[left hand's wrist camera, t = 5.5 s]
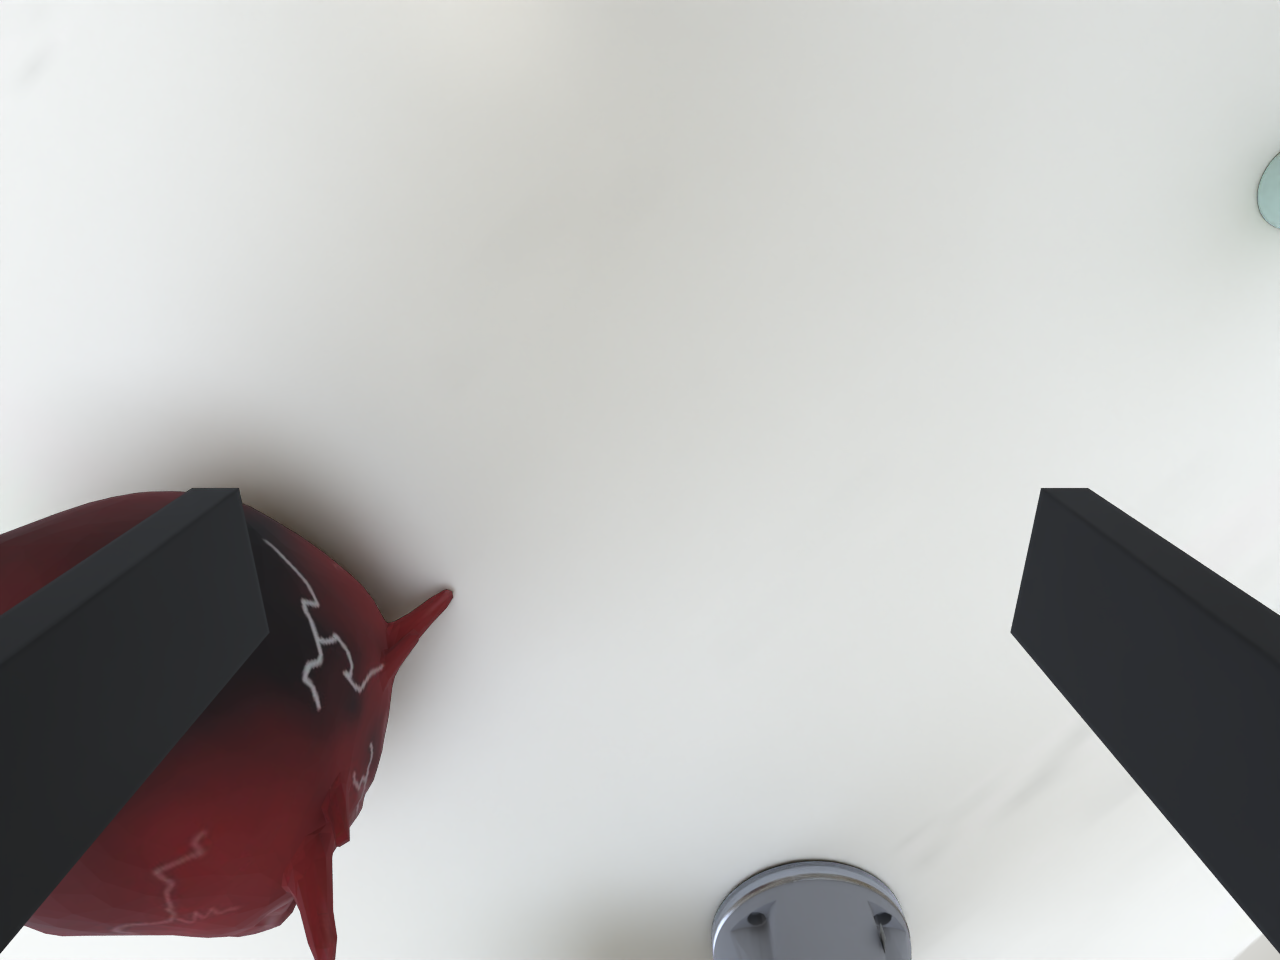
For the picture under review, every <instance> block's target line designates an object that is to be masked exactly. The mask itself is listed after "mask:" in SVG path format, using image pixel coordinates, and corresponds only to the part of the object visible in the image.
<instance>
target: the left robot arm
mask: <svg viewBox="0 0 1280 960" xmlns="http://www.w3.org/2000/svg"><path fill="white" fill-rule="evenodd" d="M1010 633H1011V634H1012V635H1013V636H1014V637H1015V638H1016V640H1017V641H1018V642H1019V643H1020V644H1021V646H1022V647H1023V648H1024V649H1025V650H1026V652H1027V653H1028V654H1029V655H1030V656H1031V658H1032V659H1033V660H1034V661H1035V662H1036V664H1037V665H1038V666H1039V667H1040V668H1041V669H1042V671H1043V672H1044V673H1045V674H1046V675H1047V677H1048V678H1049V679H1050V680H1051V681H1052V683H1053V684H1054V685H1055V686H1056V687H1057V689H1058V690H1059V691H1060V692H1061V693H1062V695H1063V696H1064V697H1065V698H1066V699H1067V700H1068V702H1069V703H1070V704H1071V705H1072V706H1073V708H1074V709H1075V710H1076V711H1077V712H1078V714H1079V715H1080V716H1081V717H1082V718H1083V720H1084V721H1085V722H1086V723H1087V724H1088V726H1089V727H1090V728H1091V729H1092V730H1093V732H1094V733H1095V734H1096V735H1097V736H1098V737H1099V739H1100V740H1101V741H1102V742H1103V743H1104V745H1105V746H1106V747H1107V748H1108V749H1109V751H1110V752H1111V753H1112V754H1113V755H1114V757H1115V758H1116V759H1117V760H1118V761H1119V763H1120V764H1121V765H1122V766H1123V767H1124V768H1125V770H1126V771H1127V772H1128V773H1129V774H1130V776H1131V777H1132V778H1133V779H1134V780H1135V782H1136V783H1137V784H1138V785H1139V786H1140V788H1141V789H1142V790H1143V791H1144V792H1145V794H1146V795H1147V796H1148V797H1149V798H1150V799H1151V801H1152V802H1153V803H1154V804H1155V805H1156V807H1157V808H1158V809H1159V810H1160V811H1161V813H1162V814H1163V815H1164V816H1165V817H1166V819H1167V820H1168V821H1169V822H1170V823H1171V825H1172V826H1173V827H1174V828H1175V829H1176V830H1177V832H1178V833H1179V834H1180V835H1181V836H1182V838H1183V839H1184V840H1185V841H1186V842H1187V844H1188V845H1189V846H1190V847H1191V848H1192V850H1193V851H1194V852H1195V853H1196V854H1197V856H1198V857H1199V858H1200V859H1201V860H1202V862H1203V863H1204V864H1205V865H1206V866H1207V867H1208V869H1209V870H1210V871H1211V872H1212V873H1213V875H1214V876H1215V877H1216V878H1217V879H1218V881H1219V882H1220V883H1221V884H1222V885H1223V887H1224V888H1225V889H1226V890H1227V891H1228V893H1229V894H1230V895H1231V896H1232V897H1233V898H1234V900H1235V901H1236V902H1237V903H1238V904H1239V906H1240V907H1241V908H1242V909H1243V910H1244V912H1245V913H1246V914H1247V915H1248V916H1249V918H1250V919H1251V920H1252V921H1253V922H1254V924H1255V925H1256V926H1257V927H1258V928H1259V929H1260V931H1261V932H1262V933H1263V934H1264V935H1265V937H1266V938H1267V939H1268V940H1269V941H1270V943H1271V944H1272V945H1273V946H1274V947H1275V949H1276V950H1277V951H1278V952H1279V953H1280V615H1278V614H1277V613H1275V612H1274V611H1272V610H1271V609H1269V608H1268V607H1266V606H1265V605H1263V604H1262V603H1260V602H1259V601H1257V600H1256V599H1254V598H1253V597H1251V596H1250V595H1248V594H1247V593H1245V592H1244V591H1242V590H1241V589H1239V588H1238V587H1236V586H1235V585H1233V584H1232V583H1230V582H1229V581H1227V580H1226V579H1224V578H1223V577H1221V576H1220V575H1218V574H1217V573H1215V572H1213V571H1212V570H1210V569H1209V568H1207V567H1206V566H1204V565H1203V564H1201V563H1200V562H1198V561H1197V560H1195V559H1194V558H1192V557H1191V556H1189V555H1188V554H1186V553H1185V552H1183V551H1182V550H1180V549H1179V548H1177V547H1176V546H1174V545H1173V544H1171V543H1170V542H1168V541H1167V540H1165V539H1164V538H1162V537H1161V536H1159V535H1158V534H1156V533H1155V532H1153V531H1152V530H1150V529H1149V528H1147V527H1146V526H1144V525H1143V524H1141V523H1140V522H1138V521H1137V520H1135V519H1134V518H1132V517H1131V516H1129V515H1128V514H1126V513H1125V512H1123V511H1122V510H1120V509H1119V508H1117V507H1116V506H1114V505H1113V504H1111V503H1110V502H1108V501H1107V500H1105V499H1104V498H1102V497H1101V496H1099V495H1098V494H1096V493H1095V492H1093V491H1092V490H1090V489H1089V488H1041V491H1040V496H1039V501H1038V505H1037V510H1036V515H1035V520H1034V524H1033V529H1032V534H1031V538H1030V543H1029V548H1028V552H1027V557H1026V562H1025V567H1024V571H1023V576H1022V581H1021V585H1020V590H1019V595H1018V600H1017V604H1016V609H1015V614H1014V618H1013V623H1012V628H1011V632H1010ZM268 634H269V628H268V623H267V618H266V614H265V609H264V604H263V600H262V595H261V590H260V585H259V581H258V576H257V571H256V567H255V562H254V557H253V552H252V548H251V543H250V538H249V534H248V529H247V524H246V520H245V515H244V510H243V505H242V501H241V496H240V491H239V488H191V489H190V490H188V491H187V492H185V493H184V494H182V495H181V496H179V497H178V498H176V499H175V500H173V501H172V502H170V503H169V504H167V505H166V506H164V507H163V508H161V509H160V510H158V511H157V512H155V513H154V514H152V515H151V516H149V517H148V518H146V519H145V520H143V521H142V522H140V523H139V524H137V525H136V526H134V527H133V528H131V529H130V530H128V531H127V532H125V533H124V534H122V535H121V536H119V537H118V538H116V539H115V540H113V541H112V542H110V543H109V544H107V545H106V546H104V547H103V548H101V549H100V550H98V551H97V552H95V553H94V554H92V555H91V556H89V557H88V558H86V559H85V560H83V561H82V562H80V563H79V564H77V565H76V566H74V567H73V568H71V569H70V570H68V571H67V572H65V573H63V574H62V575H60V576H59V577H57V578H56V579H54V580H53V581H51V582H50V583H48V584H47V585H45V586H44V587H42V588H41V589H39V590H38V591H36V592H35V593H33V594H32V595H30V596H29V597H27V598H26V599H24V600H23V601H21V602H20V603H18V604H17V605H15V606H14V607H12V608H11V609H9V610H8V611H6V612H5V613H3V614H2V615H0V953H1V952H2V951H3V950H4V949H5V947H6V946H7V945H8V944H9V943H10V941H11V940H12V939H13V938H14V937H15V935H16V934H17V933H18V932H19V931H20V929H21V928H22V927H23V926H24V925H25V924H26V922H27V921H28V920H29V919H30V918H31V916H32V915H33V914H34V913H35V912H36V910H37V909H38V908H39V907H40V906H41V904H42V903H43V902H44V901H45V900H46V898H47V897H48V896H49V895H50V894H51V893H52V891H53V890H54V889H55V888H56V887H57V885H58V884H59V883H60V882H61V881H62V879H63V878H64V877H65V876H66V875H67V873H68V872H69V871H70V870H71V869H72V867H73V866H74V865H75V864H76V863H77V862H78V860H79V859H80V858H81V857H82V856H83V854H84V853H85V852H86V851H87V850H88V848H89V847H90V846H91V845H92V844H93V842H94V841H95V840H96V839H97V838H98V836H99V835H100V834H101V833H102V832H103V830H104V829H105V828H106V827H107V826H108V825H109V823H110V822H111V821H112V820H113V819H114V817H115V816H116V815H117V814H118V813H119V811H120V810H121V809H122V808H123V807H124V805H125V804H126V803H127V802H128V801H129V799H130V798H131V797H132V796H133V795H134V794H135V792H136V791H137V790H138V789H139V788H140V786H141V785H142V784H143V783H144V782H145V780H146V779H147V778H148V777H149V776H150V774H151V773H152V772H153V771H154V770H155V768H156V767H157V766H158V765H159V764H160V763H161V761H162V760H163V759H164V758H165V757H166V755H167V754H168V753H169V752H170V751H171V749H172V748H173V747H174V746H175V745H176V743H177V742H178V741H179V740H180V739H181V737H182V736H183V735H184V734H185V733H186V731H187V730H188V729H189V728H190V727H191V726H192V724H193V723H194V722H195V721H196V720H197V718H198V717H199V716H200V715H201V714H202V712H203V711H204V710H205V709H206V708H207V706H208V705H209V704H210V703H211V702H212V700H213V699H214V698H215V697H216V696H217V695H218V693H219V692H220V691H221V690H222V689H223V687H224V686H225V685H226V684H227V683H228V681H229V680H230V679H231V678H232V677H233V675H234V674H235V673H236V672H237V671H238V669H239V668H240V667H241V666H242V665H243V664H244V662H245V661H246V660H247V659H248V658H249V656H250V655H251V654H252V653H253V652H254V650H255V649H256V648H257V647H258V646H259V644H260V643H261V642H262V641H263V640H264V638H265V637H266V636H267V635H268ZM711 939H712V950H713V959H714V960H911V942H910V934H909V929H908V926H907V923H906V920H905V918H904V915H903V912H902V909H901V907H900V904H899V902H898V900H897V898H896V897H895V895H894V894H893V893H892V891H891V890H890V889H889V888H888V887H887V886H886V885H885V884H884V883H883V882H881V881H880V880H879V879H877V878H876V877H874V876H872V875H871V874H869V873H867V872H865V871H863V870H860V869H858V868H855V867H852V866H848V865H845V864H839V863H834V862H824V861H806V862H797V863H791V864H785V865H782V866H778V867H774V868H772V869H769V870H766V871H764V872H761V873H759V874H757V875H755V876H753V877H751V878H750V879H748V880H746V881H745V882H743V883H742V884H741V885H739V886H738V887H737V888H735V889H734V890H733V891H732V892H731V893H730V894H729V895H728V896H727V897H726V899H725V900H724V901H723V903H722V904H721V905H720V907H719V909H718V911H717V913H716V915H715V918H714V921H713V924H712V931H711Z"/></svg>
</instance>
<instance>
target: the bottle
mask: <svg viewBox="0 0 1280 960" xmlns="http://www.w3.org/2000/svg"><path fill="white" fill-rule="evenodd" d="M1258 206H1259V210H1260V212H1261V214H1262V216H1263V217H1264V219H1265V220H1266V221H1267V222H1268V223H1270V224H1271V225H1272V226H1274V227H1277V228H1279V229H1280V153H1279V154H1278V155H1277V156H1276V157H1275V158H1274V159H1273V160H1272V161H1271V163H1270V164H1269V166H1268V167H1267V169H1266V170H1265V172H1264V174H1263V176H1262V178H1261V181H1260V184H1259V189H1258Z"/></svg>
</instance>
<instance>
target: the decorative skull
mask: <svg viewBox="0 0 1280 960" xmlns="http://www.w3.org/2000/svg"><path fill="white" fill-rule="evenodd" d="M184 493H185V492H176V491H160V492H141V493H133V494H127V495H122V496H116V497H111V498H107V499H103V500H99V501H94V502H90V503H87V504H84V505H81V506H78V507H75V508H72V509H69V510H66V511H63V512H60V513H57V514H54V515H51V516H49V517H46V518H43V519H41V520H38V521H35V522H33V523H30V524H27V525H25V526H22V527H19V528H17V529H14V530H11V531H9V532H6V533H3V534H1V535H0V615H2V614H3V613H5V612H6V611H8V610H9V609H11V608H12V607H14V606H15V605H17V604H18V603H20V602H21V601H23V600H24V599H26V598H27V597H29V596H30V595H32V594H33V593H35V592H36V591H38V590H39V589H41V588H42V587H44V586H45V585H47V584H48V583H50V582H51V581H53V580H54V579H56V578H57V577H59V576H60V575H62V574H63V573H65V572H67V571H68V570H70V569H71V568H73V567H74V566H76V565H77V564H79V563H80V562H82V561H83V560H85V559H86V558H88V557H89V556H91V555H92V554H94V553H95V552H97V551H98V550H100V549H101V548H103V547H104V546H106V545H107V544H109V543H110V542H112V541H113V540H115V539H116V538H118V537H119V536H121V535H122V534H124V533H125V532H127V531H128V530H130V529H131V528H133V527H134V526H136V525H137V524H139V523H140V522H142V521H143V520H145V519H146V518H148V517H149V516H151V515H152V514H154V513H155V512H157V511H158V510H160V509H161V508H163V507H164V506H166V505H167V504H169V503H170V502H172V501H173V500H175V499H176V498H178V497H179V496H181V495H182V494H184ZM242 505H243V510H244V515H245V520H246V524H247V529H248V534H249V538H250V543H251V548H252V552H253V557H254V562H255V567H256V571H257V576H258V581H259V585H260V590H261V595H262V600H263V604H264V609H265V614H266V618H267V623H268V628H269V634H268V635H267V636H266V637H265V638H264V640H263V641H262V642H261V643H260V644H259V646H258V647H257V648H256V649H255V650H254V652H253V653H252V654H251V655H250V656H249V658H248V659H247V660H246V661H245V662H244V664H243V665H242V666H241V667H240V668H239V669H238V671H237V672H236V673H235V674H234V675H233V677H232V678H231V679H230V680H229V681H228V683H227V684H226V685H225V686H224V687H223V689H222V690H221V691H220V692H219V693H218V695H217V696H216V697H215V698H214V699H213V700H212V702H211V703H210V704H209V705H208V706H207V708H206V709H205V710H204V711H203V712H202V714H201V715H200V716H199V717H198V718H197V720H196V721H195V722H194V723H193V724H192V726H191V727H190V728H189V729H188V730H187V731H186V733H185V734H184V735H183V736H182V737H181V739H180V740H179V741H178V742H177V743H176V745H175V746H174V747H173V748H172V749H171V751H170V752H169V753H168V754H167V755H166V757H165V758H164V759H163V760H162V761H161V763H160V764H159V765H158V766H157V767H156V768H155V770H154V771H153V772H152V773H151V774H150V776H149V777H148V778H147V779H146V780H145V782H144V783H143V784H142V785H141V786H140V788H139V789H138V790H137V791H136V792H135V794H134V795H133V796H132V797H131V798H130V799H129V801H128V802H127V803H126V804H125V805H124V807H123V808H122V809H121V810H120V811H119V813H118V814H117V815H116V816H115V817H114V819H113V820H112V821H111V822H110V823H109V825H108V826H107V827H106V828H105V829H104V830H103V832H102V833H101V834H100V835H99V836H98V838H97V839H96V840H95V841H94V842H93V844H92V845H91V846H90V847H89V848H88V850H87V851H86V852H85V853H84V854H83V856H82V857H81V858H80V859H79V860H78V862H77V863H76V864H75V865H74V866H73V867H72V869H71V870H70V871H69V872H68V873H67V875H66V876H65V877H64V878H63V879H62V881H61V882H60V883H59V884H58V885H57V887H56V888H55V889H54V890H53V891H52V893H51V894H50V895H49V896H48V897H47V898H46V900H45V901H44V902H43V903H42V904H41V906H40V907H39V908H38V909H37V910H36V912H35V913H34V914H33V915H32V916H31V918H30V919H29V920H28V921H27V922H26V924H25V925H24V926H27V927H29V928H32V929H35V930H37V931H40V932H43V933H45V934H52V935H58V936H106V935H177V936H189V937H204V938H212V937H228V936H230V937H241V936H246V935H252V934H256V933H260V932H263V931H266V930H269V929H272V928H274V927H277V926H280V925H281V924H282V923H283V922H284V921H285V920H286V919H287V918H288V917H289V915H290V914H291V913H292V912H293V910H294V908H295V906H296V904H297V906H298V908H299V910H300V914H301V918H302V921H303V925H304V929H305V933H306V937H307V941H308V944H309V947H310V949H311V952H312V954H313V956H314V959H315V960H335V955H336V944H337V933H336V927H335V920H334V913H333V879H332V855H333V852H334V851H335V849H336V847H340V846H342V845H343V844H345V843H347V842H348V841H350V830H349V827H350V826H351V825H352V823H353V822H354V820H355V819H356V818H357V816H358V815H359V813H360V811H361V809H362V806H363V800H364V796H365V793H366V792H367V791H368V789H369V787H370V785H371V784H372V782H373V780H374V777H375V774H376V771H377V768H378V764H379V760H380V757H381V753H382V748H383V742H384V736H385V732H386V727H387V722H388V716H389V709H390V701H391V693H392V685H393V681H394V677H395V675H396V673H397V671H398V669H399V668H400V666H401V664H402V663H403V662H404V660H405V659H406V657H407V656H408V655H409V653H410V652H411V650H412V649H413V648H414V646H415V645H416V644H417V642H418V640H419V638H420V637H421V636H422V634H423V633H424V632H425V631H426V630H427V628H428V627H429V626H430V625H431V624H432V623H433V622H434V620H435V619H436V618H437V617H438V616H439V615H440V614H441V613H442V612H443V611H444V610H445V609H446V608H447V606H448V605H449V603H450V601H451V600H452V598H453V593H452V591H450V590H447V589H446V590H444V591H441V592H440V593H438V594H436V595H435V596H433V597H431V598H430V599H428V600H427V601H426V602H424V603H423V604H421V605H420V606H419V607H417V608H416V609H414V610H413V611H412V612H410V613H409V614H407V615H405V616H403V617H402V618H400V619H398V620H396V621H394V622H390V623H387V622H386V621H385V620H384V618H383V616H382V615H381V613H380V611H379V609H378V607H377V605H376V604H375V602H374V600H373V599H372V597H371V596H370V595H369V593H368V592H367V591H366V590H365V588H364V587H363V586H362V585H361V584H360V583H359V582H358V581H357V580H356V579H355V578H354V577H353V576H352V575H351V574H349V573H348V572H347V571H346V570H344V569H343V568H342V567H341V566H340V565H338V564H337V563H336V562H335V561H334V560H332V559H331V558H330V557H329V556H327V555H326V554H325V553H324V552H322V551H321V550H320V549H318V548H317V547H315V546H314V545H313V544H311V543H310V542H308V541H307V540H305V539H304V538H303V537H301V536H300V535H298V534H296V533H295V532H293V531H291V530H290V529H288V528H286V527H285V526H283V525H281V524H280V523H278V522H276V521H275V520H273V519H271V518H270V517H268V516H266V515H264V514H263V513H261V512H259V511H257V510H255V509H254V508H252V507H250V506H247V505H245V504H243V503H242Z"/></svg>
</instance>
